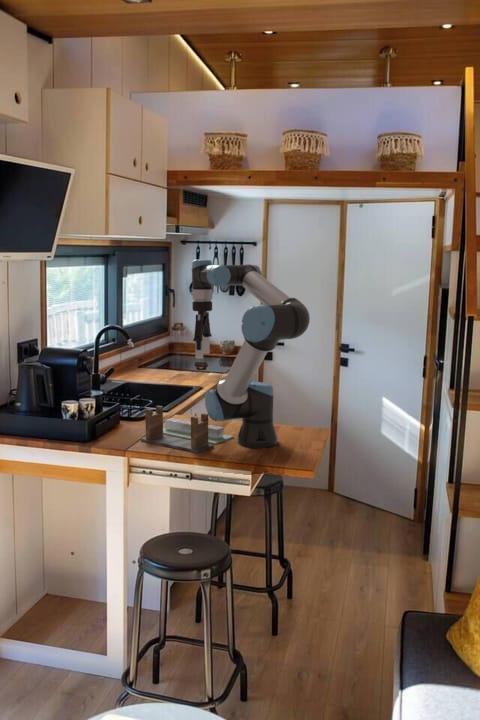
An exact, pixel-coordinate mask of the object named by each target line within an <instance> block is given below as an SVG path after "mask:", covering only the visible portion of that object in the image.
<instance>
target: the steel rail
mask: <svg viewBox="0 0 480 720" xmlns="http://www.w3.org/2000/svg"><path fill="white" fill-rule="evenodd" d="M164 425H165V427H164V428H165V430H169V431H174V432H179V433H185V434H190V435H191V420H184V419H178V418H173V417H172V418H168V419H165V420H164ZM223 434H224V427H223V426H217V425H213V424H212V425H211V424H208V438H210V439H215V440H218V439H221V438H223Z"/></svg>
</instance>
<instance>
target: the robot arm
mask: <svg viewBox="0 0 480 720" xmlns="http://www.w3.org/2000/svg"><path fill="white" fill-rule="evenodd" d="M191 263H192V264H191V265H192V267H191V279H192V280H191V282H192V283H191V284H192V285H191V286H192V291H191V292H190V294H191V295H192V300H193V301H192V307H191V308H192V311H194V312H197V314H195V325H194V337H193V340H192V341H193V342H194V343H195V359H200V360H201V359H202V360H203V359H204V355H208V354H211V353H210V352H211V351H210V349H211V348H210V346H211V345H210V344H211V343H210V342H211V341H210V339H211V337H212V333H211V325H210V312H212V311H213V301H212V300H213V287H224V286H241V287H243V288H244V289H245V290H246V291H248V292H249V293H250V294H251V295H252V296H254V297H255V298H256V300H258V301H259V302H261V304H258V305H253V306H252V305H251V306H250V307H249V308H248V309H246V310H245V312H244V313H243V315H242V319H241V325H240V326H241V333H242V335H243V339H244V341H243V343H242V344H241V347H240V349H239V351H238V353H237V355H236V357H235V359H234V360H233V362H232V364H231V367H230V369H229V371H228V373H227V375H226V376H225V378H223V379H222V380H219V382H218V384H217V385H216V388H215V389H212V388H211V389H209V390H207V391H206V392H205V396H204V404H205V405H204V406H205V409H206V414H208V418H210V419H211V420H212V421H214V422H225V421H231V420H238V419H242V420H241V425H240V429H239V431H238V435H237V444H238V445H239V446H242V447H246V448H255V449H262V448H271V447H274V446H276V445H278V435H277V432H276V428H275V424H274V397H275V396H274V394H275V393H274V387H273V386H272V385H271V384H269V383H267V382H261V381H253V379H254V378H255V376H256V374H257V372H258V370H259V368H260V367H261V365H262V363H263V362H264V359H265V357H266V355H267V354H268V352H271V351H273V350H274V349H275V348H276V347H277V345H278V343H279V341H283V340H292V339H293V340H294V339H296V338H299V337H301V336H302V335H303V334H304V333H305V332H306V331H307V329H308V328H309V324H310V319H311V318H310V312H309V310H308V308H307V307H306V305H305V304H304V303H302V301H300V300H299V299H297V298H296V297H290V296H288V294H286V293H285V292H283V291H282V290H281V289H279V287H277V286H276V285H274V284H273V283H272V282H271V281H269V280H268V279H267V278H265V277H264V276H263V275H262V270H260V269H261V268H260V267H259V266H258V265H256V264H213V263H212V260H211V259H193V260H192V262H191Z"/></svg>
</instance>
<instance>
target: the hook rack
mask: <svg viewBox="0 0 480 720" xmlns="http://www.w3.org/2000/svg"><path fill="white" fill-rule="evenodd" d="M144 410H145V411H144V412H145V413H144V414H145V415H144V416H145V417H144V418H145V436H144V437H141V438H140V442H144V443H150V444H153V445H159V446H163V447H168V448H173V449H177V450H182V451H185V452H186V451H187V452H191V453H196V454H201V453H203V452H205V451H209V450H211V449H214V448H215V446H214V445H215V444H210V443H208V425H209V415H208V413H203V412H202V413H200V415H201V416H200V420H199V417H198V416H190V422H191V440H190V439H185V438H180V437H175V436H170V435H165V434H163V428H164V416H163V415H164V406H162V405H155V412H153V409H152V408H145V409H144Z"/></svg>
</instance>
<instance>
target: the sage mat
mask: <svg viewBox="0 0 480 720" xmlns="http://www.w3.org/2000/svg"><path fill="white" fill-rule="evenodd" d="M163 435H167V436H172V437H177V438H182V439H187V440H191V435H190V434H185V433H179V432H174V431H169V430H165V427H163ZM234 438H235V436H234V435H229V434H224V433H223V438H221V439H218V440H215V439H210V438H208V444H211V445H218V444H221V443H223V442H226V441H229V440H231V439H234Z"/></svg>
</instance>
